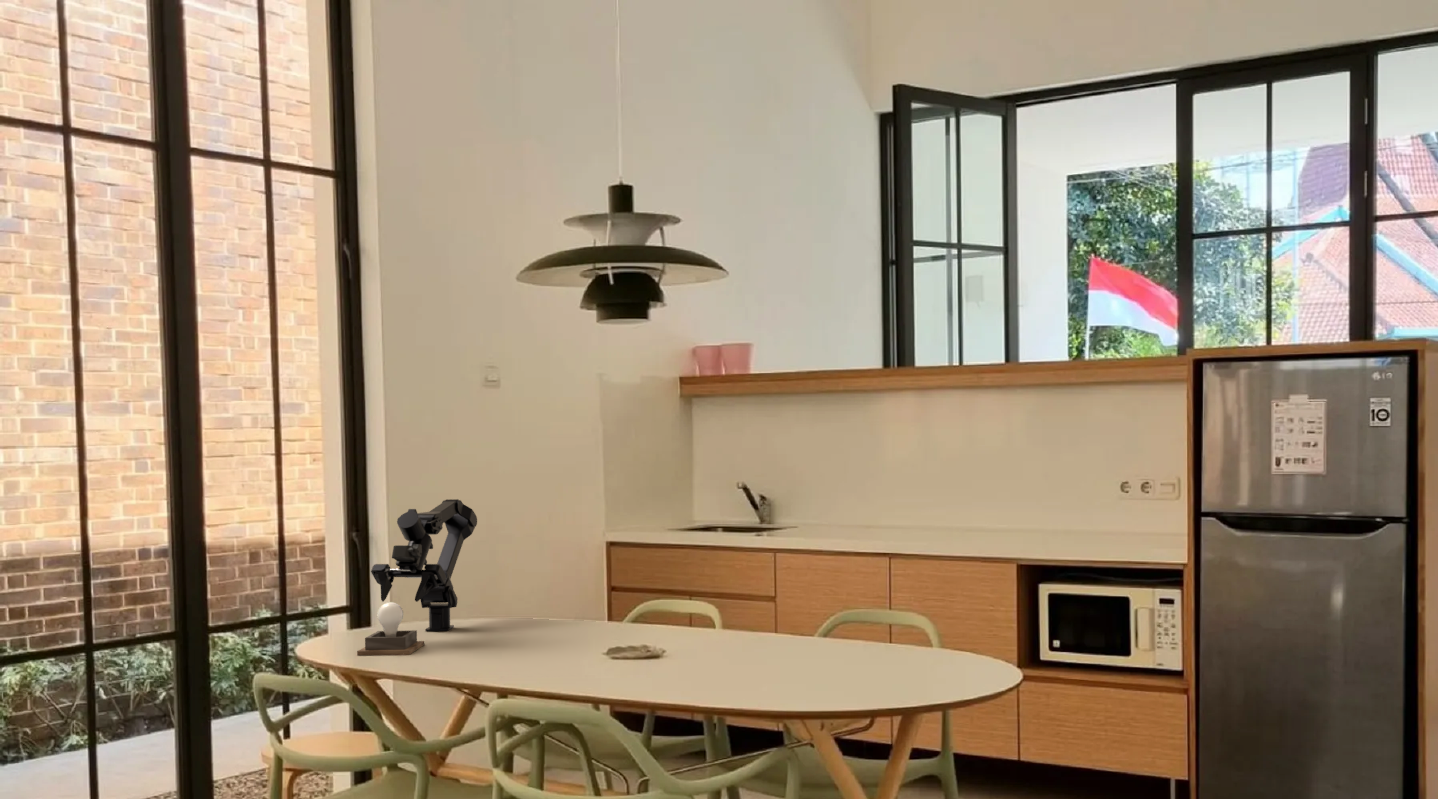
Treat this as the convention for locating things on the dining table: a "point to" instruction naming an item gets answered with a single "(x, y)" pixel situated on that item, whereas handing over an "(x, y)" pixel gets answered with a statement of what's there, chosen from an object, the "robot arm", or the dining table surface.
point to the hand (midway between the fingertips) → (399, 600)
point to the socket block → (391, 644)
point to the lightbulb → (390, 618)
